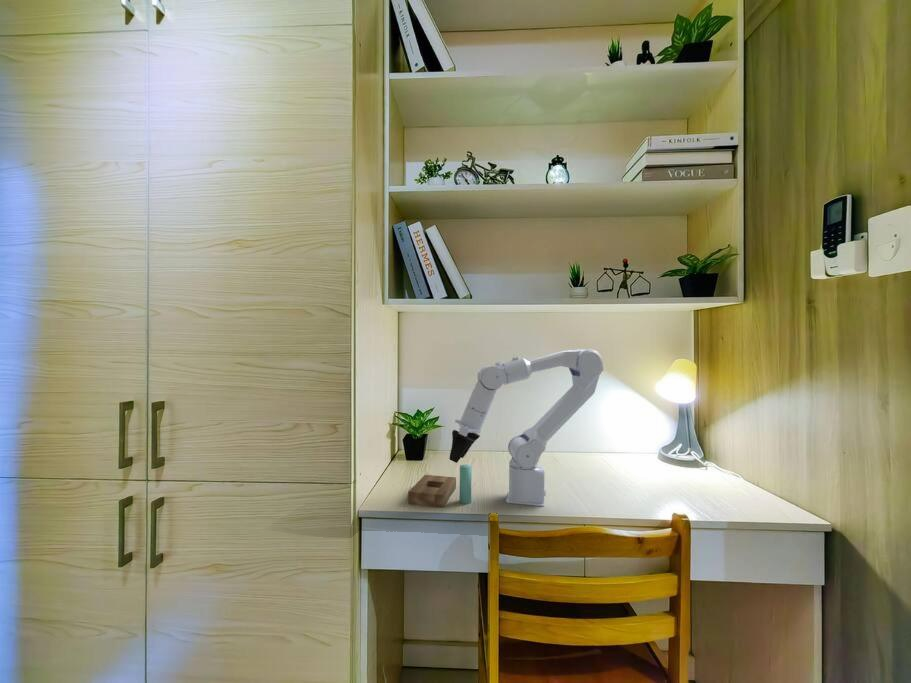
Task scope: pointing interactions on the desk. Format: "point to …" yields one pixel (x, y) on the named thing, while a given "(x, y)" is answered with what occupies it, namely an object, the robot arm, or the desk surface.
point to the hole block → (432, 490)
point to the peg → (465, 484)
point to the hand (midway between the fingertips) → (456, 458)
